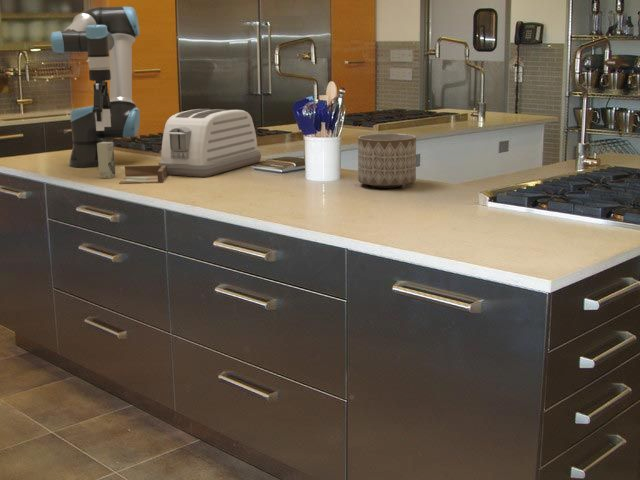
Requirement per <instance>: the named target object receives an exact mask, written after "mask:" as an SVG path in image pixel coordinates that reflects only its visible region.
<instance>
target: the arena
mask: <svg viewBox="0 0 640 480" xmlns="http://www.w3.org/2000/svg"><path fill="white" fill-rule="evenodd" d="M124 174H125V175H124V177H123V178H122V179H121V180H120V181H119V184H118V185H124V184H125V185H126V184H127V185H130V184H133V185H134V184H135V185H136V184H162V183H163V182H164V181H165V180H166V178H167V177H168V175H167V167H166V165H159V164H156V165H155V164H154V165H152V164H151V165H150V164H149V165H125V166H124Z"/></svg>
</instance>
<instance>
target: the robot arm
mask: <svg viewBox="0 0 640 480" xmlns="http://www.w3.org/2000/svg"><path fill="white" fill-rule="evenodd" d="M138 19H139V18H138V14H137V12H136V9H135V8H134V7H132V6H123V5H122V6H94V7H91V8H88V9H86V10H83V11H81V12H79V13H78V14H77V15H75V16H74V18H73V19H72V22H71V24H70V25H68V26H67V27H66V28H65V29H64V30H62V31H61V30H58V31H52V32H51V35H50V46H51V50H52V51H53V52H54V53H62V54H65V53H87V59H86V63H87V64H88V68H89V70H88V76H89V77H88V79H89V81H93V82H95V83H93V84H92V86H93V105H88V106H83V107H78V108H74V109H72V110H71V111H70V127H71V128H70V129H71V137H72V149H71V153H70V159H69V166H70V167H74V168H94V167H99V165H98V151H97V143H100V142H104V140H103V139H118V138H119V139H120V138H121V139H127V138H134V137H136V136H137V135H138V133H139V130H140V125H141V111H140V108H138V107H136V106H137V105H136V104H137V103H135V102H134V101H133V97H132V96H133V93H132V92H133V91H132V90H133V78H132V77H133V74H132V73H133V71H132V70H133V68H132V67H133V64H132V62H133V60H132V59H133V56H132V55H133V52H132V51H133V50H132V48H133V46H132V45H133V44H134V43H136V37H138V36H140V33H141V31H140V24H139V20H138ZM108 81H109V84H108ZM108 85H109V86H108Z"/></svg>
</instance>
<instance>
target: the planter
mask: <svg viewBox="0 0 640 480" xmlns="http://www.w3.org/2000/svg"><path fill="white" fill-rule="evenodd" d="M416 168H417V135H414V134H408V133H397V132H394V133H393V132H389V133H387V132H386V133H368V134H360V135H359V136H357V178H358V179H357V180H358V182H359V183H360V184H362V185H368V186H371V187H372V188H376V189H377V188H379V189H395V188H400V187H403V186H406V185H410V184H413V183H415V182H416V180H417V175H416V174H417V169H416Z"/></svg>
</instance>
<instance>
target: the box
mask: <svg viewBox="0 0 640 480" xmlns="http://www.w3.org/2000/svg"><path fill="white" fill-rule="evenodd" d="M97 151H98V165H99V166H98V174H99V175H98V178H100V179H111V178H114V177H116V166H115V165H116V163H115V151H114V142H113V141H103V142H100V143H97Z"/></svg>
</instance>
